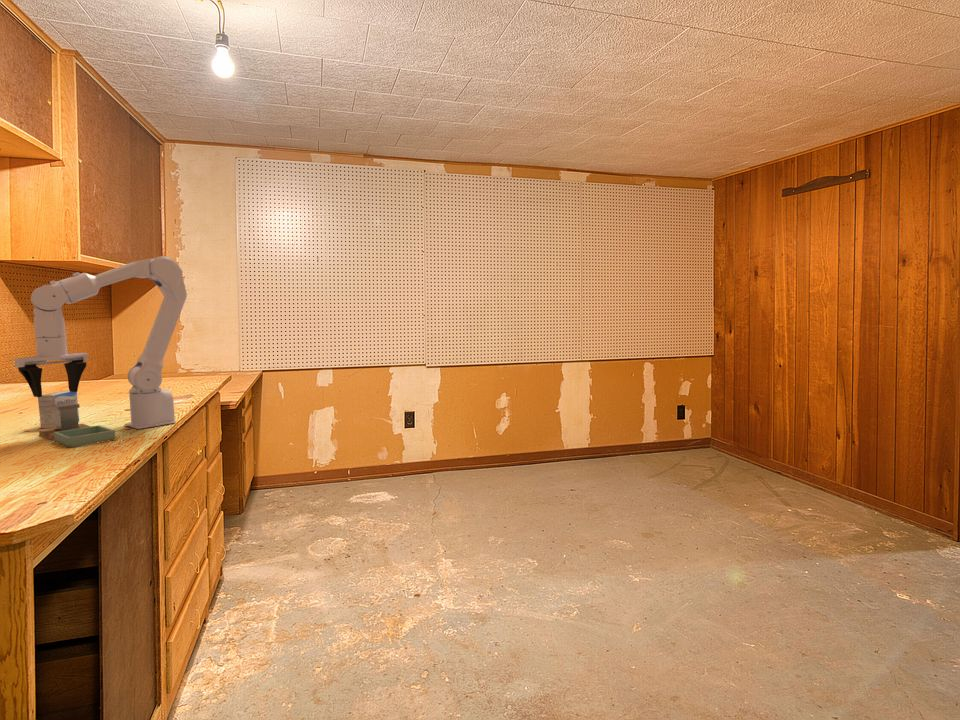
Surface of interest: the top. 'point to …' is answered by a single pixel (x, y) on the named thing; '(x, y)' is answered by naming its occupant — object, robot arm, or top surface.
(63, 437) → the tray
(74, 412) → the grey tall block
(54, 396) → the medicine box
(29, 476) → the top surface
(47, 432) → the collar
